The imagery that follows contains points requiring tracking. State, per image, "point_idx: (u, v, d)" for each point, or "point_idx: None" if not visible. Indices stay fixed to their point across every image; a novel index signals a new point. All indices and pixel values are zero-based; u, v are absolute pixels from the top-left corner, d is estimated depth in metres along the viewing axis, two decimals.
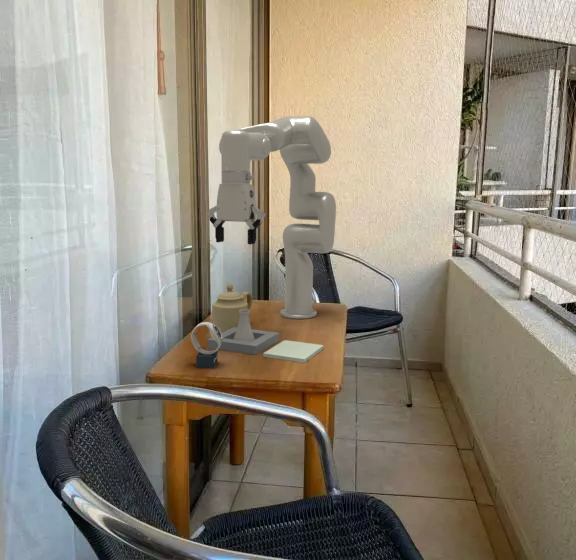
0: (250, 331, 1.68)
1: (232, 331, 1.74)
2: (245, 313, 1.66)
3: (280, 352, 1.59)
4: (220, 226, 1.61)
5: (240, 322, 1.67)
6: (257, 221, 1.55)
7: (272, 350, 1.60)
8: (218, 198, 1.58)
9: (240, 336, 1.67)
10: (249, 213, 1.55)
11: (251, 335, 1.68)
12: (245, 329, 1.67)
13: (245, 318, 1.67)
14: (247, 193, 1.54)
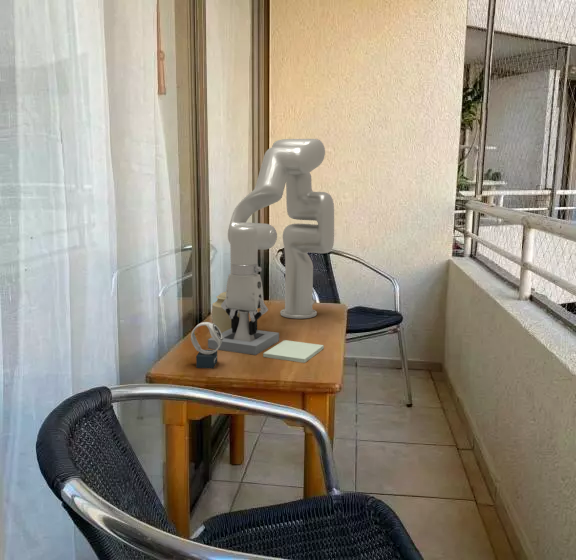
0: None
1: None
2: (245, 313, 1.66)
3: (280, 352, 1.59)
4: (236, 316, 1.69)
5: (240, 322, 1.67)
6: (258, 314, 1.65)
7: (272, 350, 1.60)
8: (227, 288, 1.66)
9: (240, 336, 1.67)
10: (257, 303, 1.64)
11: (251, 335, 1.68)
12: (245, 329, 1.67)
13: (245, 318, 1.67)
14: (255, 285, 1.63)
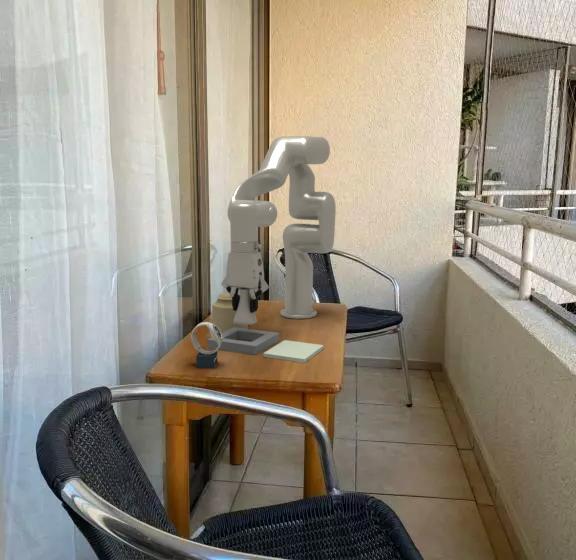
0: None
1: (232, 331, 1.74)
2: (246, 291, 1.66)
3: (280, 352, 1.59)
4: (237, 294, 1.68)
5: (241, 300, 1.66)
6: (259, 291, 1.64)
7: (272, 350, 1.60)
8: (228, 266, 1.65)
9: (241, 314, 1.66)
10: (258, 281, 1.63)
11: (252, 313, 1.67)
12: (246, 307, 1.66)
13: (246, 296, 1.66)
14: (255, 262, 1.62)
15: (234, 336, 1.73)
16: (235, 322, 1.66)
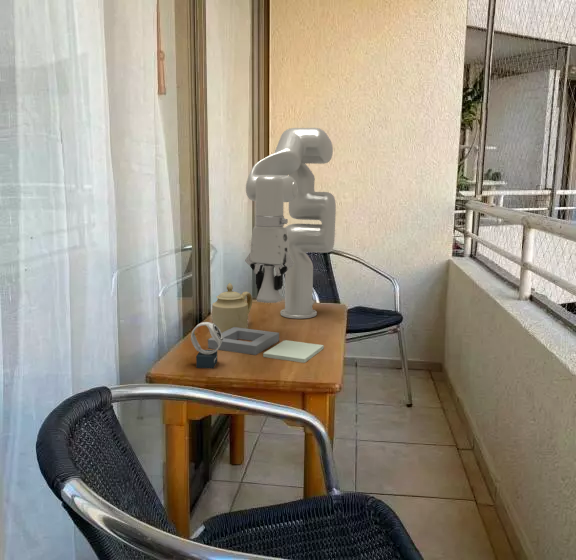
0: None
1: (232, 331, 1.74)
2: (270, 267, 1.60)
3: (280, 352, 1.59)
4: (261, 271, 1.63)
5: (265, 277, 1.61)
6: (284, 268, 1.59)
7: (272, 350, 1.60)
8: (252, 241, 1.60)
9: (264, 292, 1.61)
10: (283, 257, 1.58)
11: (276, 290, 1.61)
12: (270, 284, 1.61)
13: (270, 272, 1.61)
14: (281, 237, 1.57)
15: (234, 336, 1.73)
16: (259, 300, 1.61)
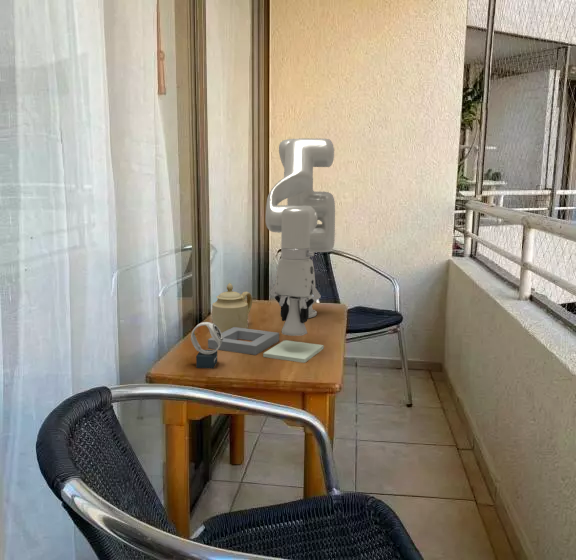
0: None
1: (232, 331, 1.74)
2: (296, 300, 1.58)
3: (280, 352, 1.59)
4: (286, 303, 1.61)
5: (291, 309, 1.59)
6: (310, 301, 1.57)
7: (272, 350, 1.60)
8: (278, 273, 1.58)
9: (290, 324, 1.58)
10: (310, 289, 1.56)
11: (302, 323, 1.59)
12: (296, 317, 1.58)
13: (296, 305, 1.58)
14: (308, 270, 1.55)
15: (234, 336, 1.73)
16: (284, 333, 1.59)
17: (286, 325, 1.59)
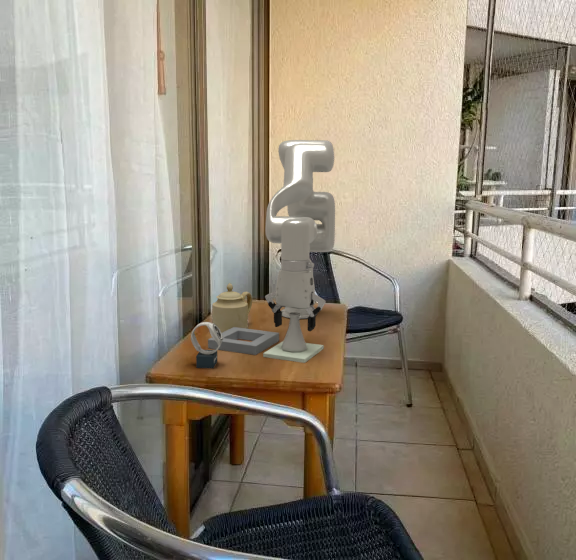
0: (301, 335, 1.60)
1: (232, 331, 1.74)
2: (296, 316, 1.59)
3: (280, 352, 1.59)
4: (279, 311, 1.62)
5: (291, 325, 1.60)
6: (317, 309, 1.56)
7: (272, 350, 1.60)
8: (278, 285, 1.58)
9: (290, 340, 1.59)
10: (309, 301, 1.56)
11: (302, 339, 1.60)
12: (296, 333, 1.59)
13: (296, 321, 1.60)
14: (308, 282, 1.55)
15: (234, 336, 1.73)
16: (284, 348, 1.60)
17: (286, 341, 1.60)
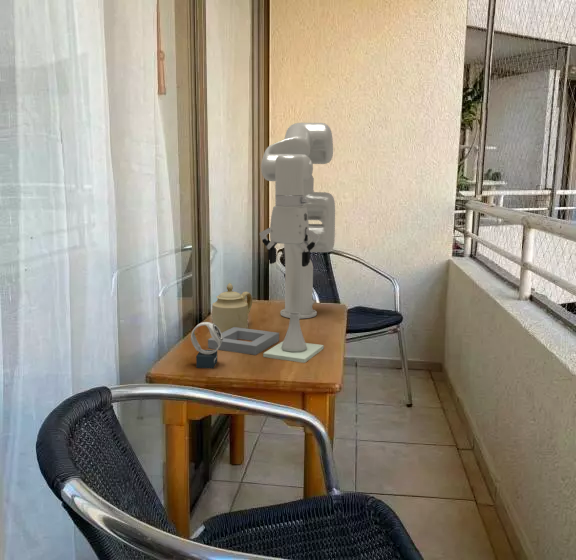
0: (301, 335, 1.60)
1: (232, 331, 1.74)
2: (296, 316, 1.59)
3: (280, 352, 1.59)
4: (273, 248, 1.63)
5: (290, 325, 1.60)
6: (311, 244, 1.58)
7: (272, 350, 1.60)
8: (272, 221, 1.60)
9: (290, 340, 1.59)
10: (304, 236, 1.57)
11: (302, 339, 1.60)
12: (296, 333, 1.59)
13: (296, 321, 1.60)
14: (302, 217, 1.56)
15: (234, 336, 1.73)
16: (284, 348, 1.60)
17: (286, 341, 1.60)
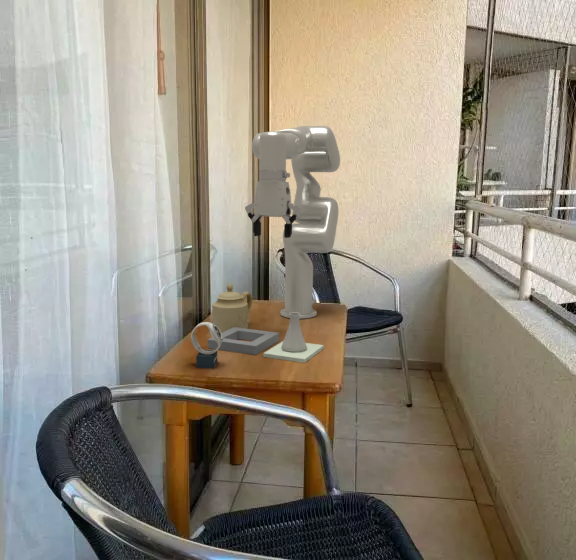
0: (301, 335, 1.60)
1: (232, 331, 1.74)
2: (296, 316, 1.59)
3: (280, 352, 1.59)
4: (257, 221, 1.72)
5: (290, 325, 1.60)
6: (293, 216, 1.67)
7: (272, 350, 1.60)
8: (256, 195, 1.69)
9: (290, 340, 1.59)
10: (286, 209, 1.67)
11: (302, 339, 1.60)
12: (296, 333, 1.59)
13: (296, 321, 1.60)
14: (284, 190, 1.66)
15: (234, 336, 1.73)
16: (284, 348, 1.60)
17: (286, 341, 1.60)
